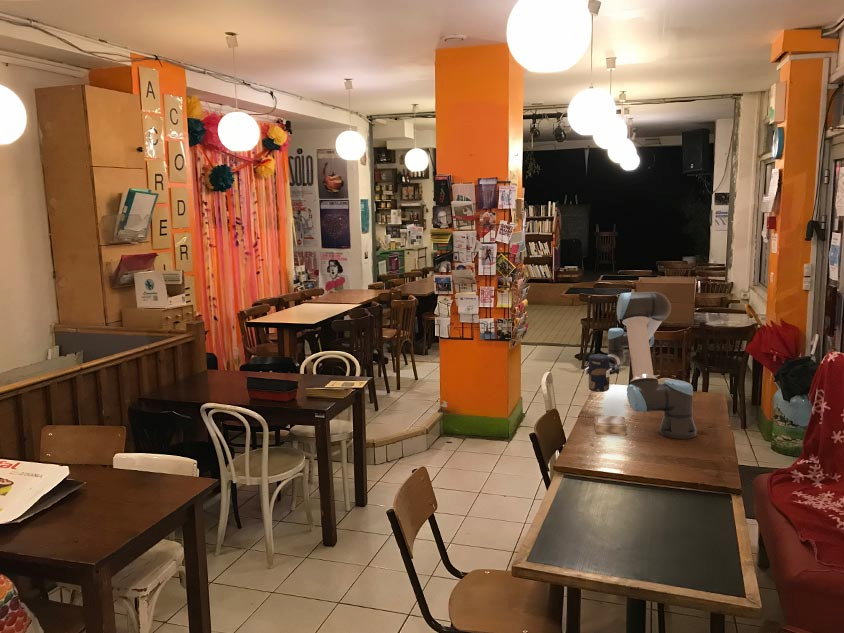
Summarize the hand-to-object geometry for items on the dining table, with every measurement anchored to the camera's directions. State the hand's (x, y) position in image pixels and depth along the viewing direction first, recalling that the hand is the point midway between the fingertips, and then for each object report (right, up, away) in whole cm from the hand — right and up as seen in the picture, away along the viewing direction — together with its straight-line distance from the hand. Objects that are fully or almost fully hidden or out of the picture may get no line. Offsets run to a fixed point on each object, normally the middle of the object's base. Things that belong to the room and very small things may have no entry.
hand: (596, 373), depth 319 cm
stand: (+3, -24, -13) cm, 28 cm away
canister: (+3, -9, +6) cm, 11 cm away
